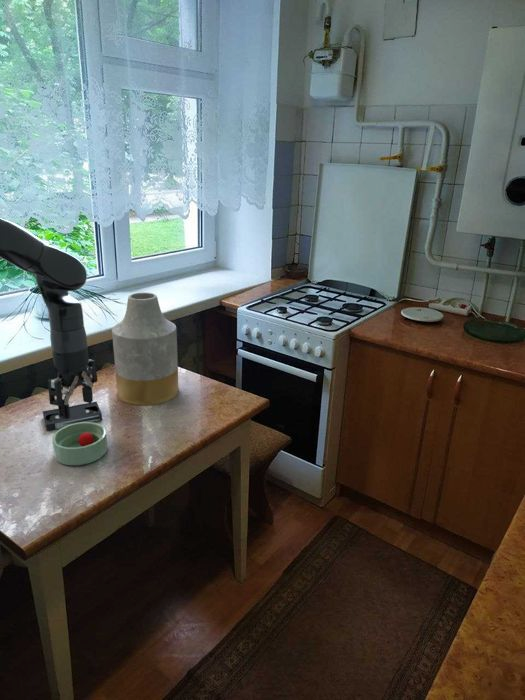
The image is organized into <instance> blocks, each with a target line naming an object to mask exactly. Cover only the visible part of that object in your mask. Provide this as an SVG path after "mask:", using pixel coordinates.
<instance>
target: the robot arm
mask: <svg viewBox="0 0 525 700" xmlns="http://www.w3.org/2000/svg"><path fill="white" fill-rule="evenodd" d="M0 259H2V260H4V261H5V262H7V263H9V264H11V265H12V266H14V267H16V268H18V269H20V270H22V271H24V272H26V273H29V274H33V275H34V276H35V277H34V278H35V281H36V285H37V287H38V290H39V293H40V295H41V297H42V300H43V302H44V304H45V306H46V308H47V313H48V322H49V329H50V331H49V332H50V333H49V334H50V335H49V338H50V339H49V340H50V346H51V353H52V361H53V366H54V368H55V369H56V370H57V372H58V373H57V377H56V378H54V379H53V378H49V379H48V380H47V387H48V399H49V404H50V405H53V406H57V409H59V416H60V417H61V418H63V419H69V418H70V410H69V407H70V404H69V401H70V398H71V396H72V395H73V394H74V391H75V390H76V389H77V388H78V387H80V386H81V392H82V393H81V394H82V401H83V402H84V403H91V402H94V400H93V399H94V396H93V388H94V384H95V383H98V373H97V366H96V360H95V359H90V358H89V348H88V339H87V332H86V328H85V322H84V321H85V320H84V311H83V305H82V303H81V302H80V301H79V300H77V299H76V298H74V297H73V296H72V295H70V293H69V292H75V291H78V290H80V289H81V288H82V287H84V286H85V284H86V282H87V279H88V273H87V270H86V267H85V265H84V263H82V261H81V260H80V259H78V258H77V257H75V256H73V255H72V254H70V253H68V252H66V251H64V250H62V249H59V248H57V247H55V246H53V245H50V244H48V243H47V242H45V241H43V240H42V239H41V238H39V237H38V236H36V235H34V233H32V232H30V231H29V230H27V228H25V227H22V226H21V225H19V224H17V223H15V222H13V221H12V220H8V219H6V218H3V217H0ZM64 388H65V389H66V390H64ZM63 396H64V398H63Z"/></svg>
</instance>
